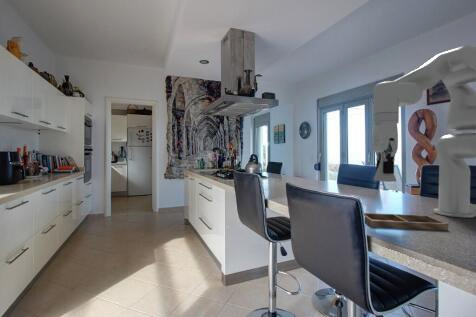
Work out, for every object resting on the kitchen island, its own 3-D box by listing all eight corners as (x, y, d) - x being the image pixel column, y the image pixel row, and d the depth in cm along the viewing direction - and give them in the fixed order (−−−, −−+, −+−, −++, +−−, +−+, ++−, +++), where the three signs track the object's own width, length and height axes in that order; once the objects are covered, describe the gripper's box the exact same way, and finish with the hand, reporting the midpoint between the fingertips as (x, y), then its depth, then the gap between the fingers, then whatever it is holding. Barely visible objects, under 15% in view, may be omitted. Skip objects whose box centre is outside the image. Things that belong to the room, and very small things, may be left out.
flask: (400, 182, 85) (401, 151, 85) (376, 181, 86) (377, 151, 86) (392, 180, 92) (392, 151, 92) (370, 179, 93) (370, 151, 93)
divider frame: (427, 220, 93) (427, 215, 93) (448, 230, 81) (448, 223, 81) (360, 218, 96) (360, 212, 96) (371, 226, 85) (371, 220, 85)
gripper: (365, 122, 98) (364, 171, 98) (384, 116, 81) (383, 174, 81) (387, 122, 97) (386, 171, 97) (410, 115, 80) (409, 175, 80)
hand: (384, 172), depth 89 cm, fingers closed on flask, 4 cm apart
